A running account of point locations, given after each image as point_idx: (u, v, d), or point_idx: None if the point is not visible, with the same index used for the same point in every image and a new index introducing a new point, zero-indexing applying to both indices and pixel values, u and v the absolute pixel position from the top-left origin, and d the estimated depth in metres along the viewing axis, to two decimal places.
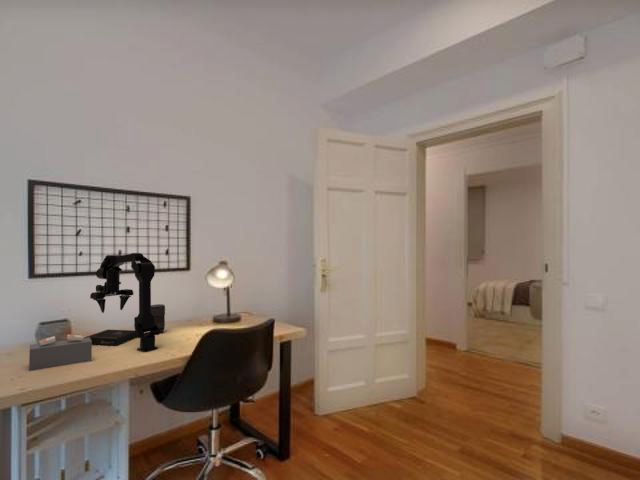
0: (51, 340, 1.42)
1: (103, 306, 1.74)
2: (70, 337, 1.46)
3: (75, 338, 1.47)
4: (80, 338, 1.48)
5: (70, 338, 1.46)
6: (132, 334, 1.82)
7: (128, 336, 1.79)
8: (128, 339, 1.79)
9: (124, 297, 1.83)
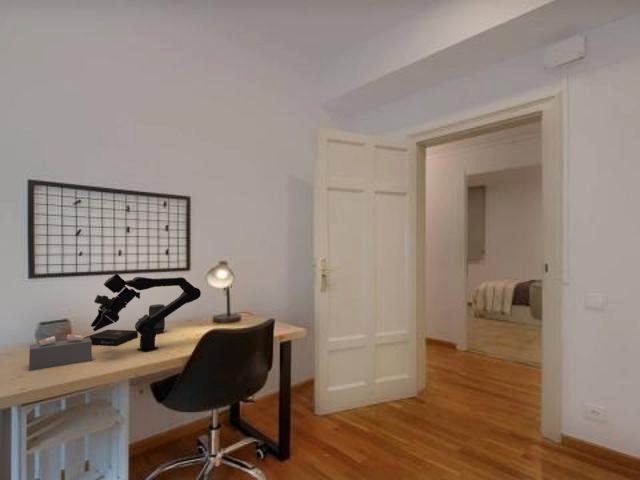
0: (51, 340, 1.42)
1: (103, 326, 1.50)
2: (70, 337, 1.46)
3: (75, 338, 1.47)
4: (80, 338, 1.48)
5: (70, 338, 1.46)
6: (132, 334, 1.82)
7: (128, 336, 1.79)
8: (128, 339, 1.79)
9: None
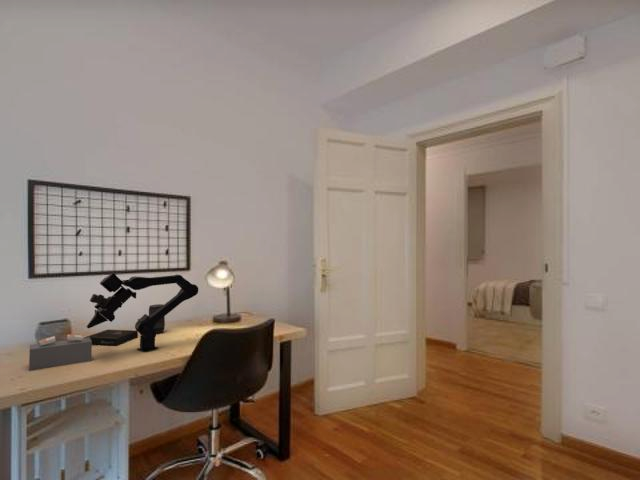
0: (51, 340, 1.42)
1: (97, 324, 1.52)
2: (70, 337, 1.46)
3: (75, 338, 1.47)
4: (80, 338, 1.48)
5: (70, 338, 1.46)
6: (132, 334, 1.82)
7: (128, 336, 1.79)
8: (128, 339, 1.79)
9: None
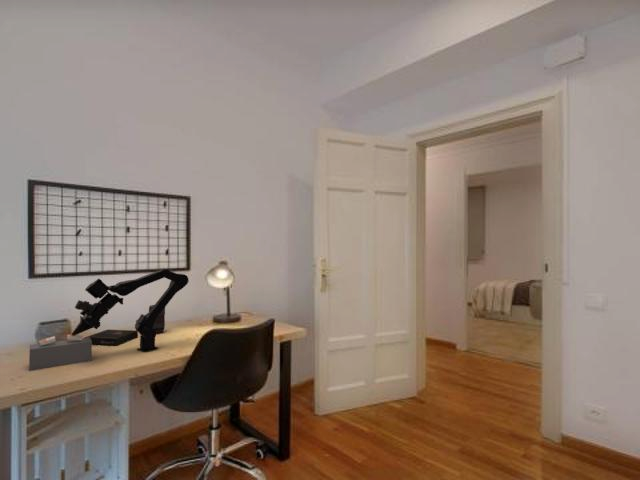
0: (51, 340, 1.42)
1: (83, 331, 1.49)
2: (70, 337, 1.46)
3: (75, 338, 1.47)
4: (80, 338, 1.48)
5: (70, 338, 1.46)
6: (132, 334, 1.82)
7: (128, 336, 1.79)
8: (128, 339, 1.79)
9: None
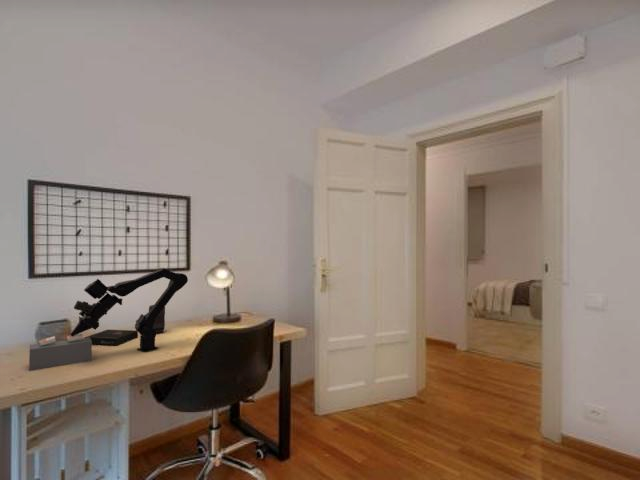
0: (51, 340, 1.42)
1: None
2: (70, 339, 1.46)
3: (75, 338, 1.47)
4: (80, 337, 1.48)
5: (70, 339, 1.46)
6: (132, 334, 1.82)
7: (128, 336, 1.79)
8: (128, 339, 1.79)
9: None
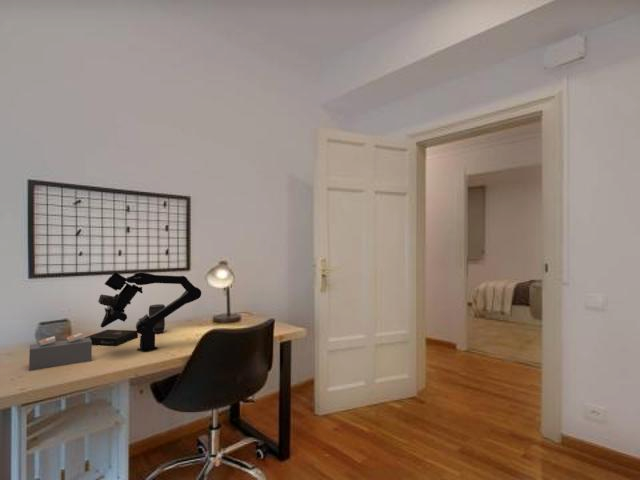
0: (51, 340, 1.42)
1: None
2: (70, 339, 1.46)
3: (75, 338, 1.47)
4: (80, 336, 1.48)
5: (70, 340, 1.46)
6: (132, 334, 1.82)
7: (128, 336, 1.79)
8: (128, 339, 1.79)
9: None
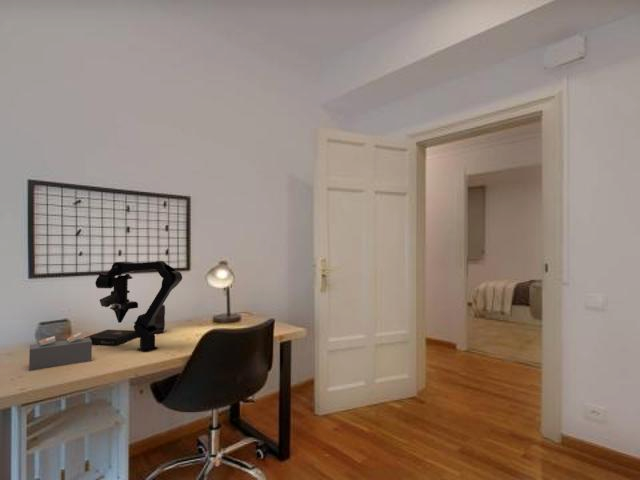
0: (51, 340, 1.42)
1: None
2: (70, 340, 1.46)
3: (75, 338, 1.47)
4: (80, 335, 1.48)
5: (71, 341, 1.46)
6: (132, 334, 1.82)
7: (128, 336, 1.79)
8: (128, 339, 1.79)
9: None
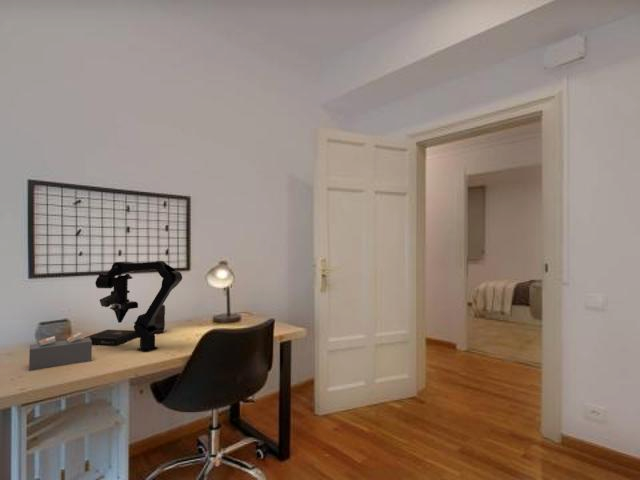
0: (51, 340, 1.42)
1: None
2: (70, 340, 1.46)
3: (75, 338, 1.47)
4: (79, 335, 1.48)
5: (71, 341, 1.46)
6: (132, 334, 1.82)
7: (128, 336, 1.79)
8: (128, 339, 1.79)
9: None
